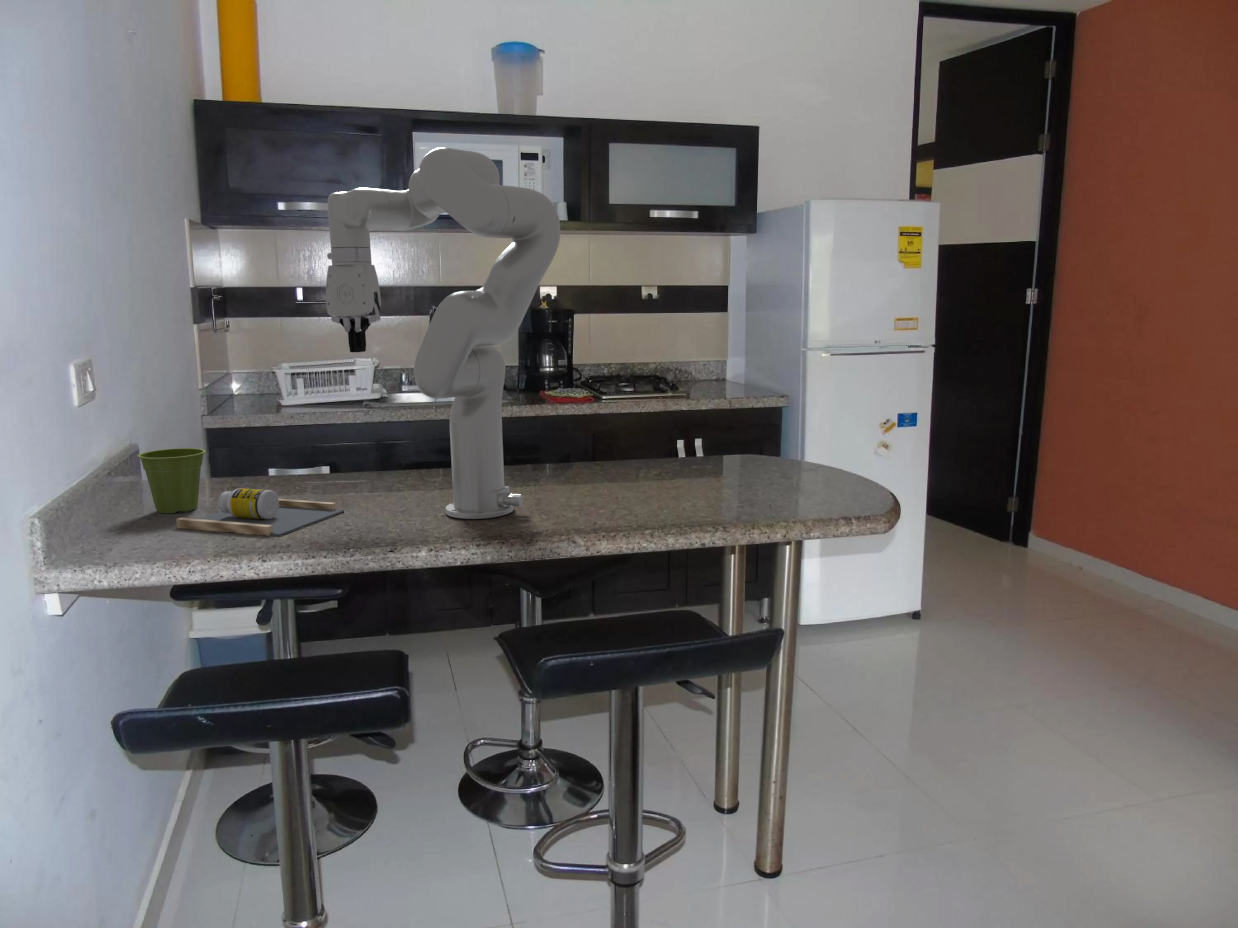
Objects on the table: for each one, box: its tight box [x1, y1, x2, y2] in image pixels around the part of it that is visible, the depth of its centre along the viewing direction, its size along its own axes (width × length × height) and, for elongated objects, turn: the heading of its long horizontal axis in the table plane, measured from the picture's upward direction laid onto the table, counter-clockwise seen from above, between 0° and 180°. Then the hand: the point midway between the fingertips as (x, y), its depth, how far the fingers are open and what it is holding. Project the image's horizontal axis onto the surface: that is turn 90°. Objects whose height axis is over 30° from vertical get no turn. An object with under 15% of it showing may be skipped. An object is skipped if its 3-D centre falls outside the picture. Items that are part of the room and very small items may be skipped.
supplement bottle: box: [218, 487, 279, 519], centre depth 169 cm, size 5×5×10 cm
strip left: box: [175, 517, 273, 537], centre depth 161 cm, size 20×1×2 cm, turn 71°
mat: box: [199, 506, 345, 537], centre depth 169 cm, size 22×18×1 cm
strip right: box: [278, 498, 337, 510], centre depth 178 cm, size 20×1×2 cm, turn 71°
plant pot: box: [136, 447, 207, 514], centre depth 177 cm, size 12×12×11 cm
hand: (358, 351), depth 184 cm, fingers closed
